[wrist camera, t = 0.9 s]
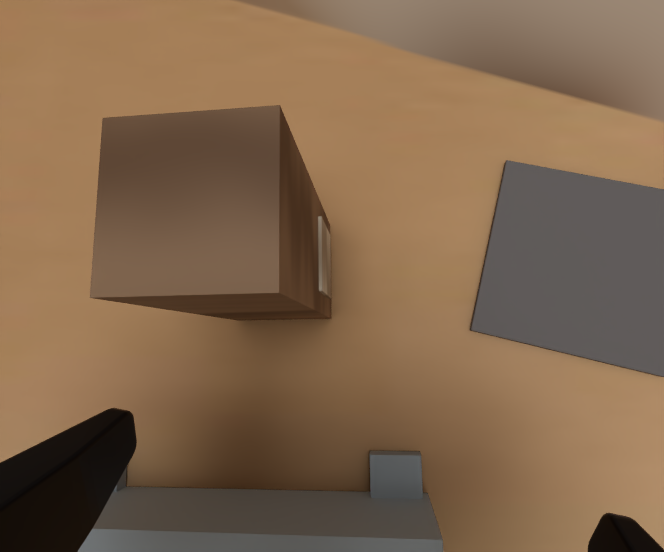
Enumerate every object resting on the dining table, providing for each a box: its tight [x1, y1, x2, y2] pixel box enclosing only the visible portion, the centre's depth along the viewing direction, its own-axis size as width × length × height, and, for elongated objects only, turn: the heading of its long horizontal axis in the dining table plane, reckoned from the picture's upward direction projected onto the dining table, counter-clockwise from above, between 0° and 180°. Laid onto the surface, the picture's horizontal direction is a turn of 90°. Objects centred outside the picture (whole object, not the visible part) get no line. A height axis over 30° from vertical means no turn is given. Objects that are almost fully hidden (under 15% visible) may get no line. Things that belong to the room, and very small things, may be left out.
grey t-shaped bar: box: [78, 451, 443, 552], centre depth 19 cm, size 18×5×5 cm, turn 91°
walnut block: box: [90, 105, 331, 320], centre depth 17 cm, size 5×5×12 cm
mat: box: [470, 160, 664, 377], centre depth 21 cm, size 9×9×1 cm
